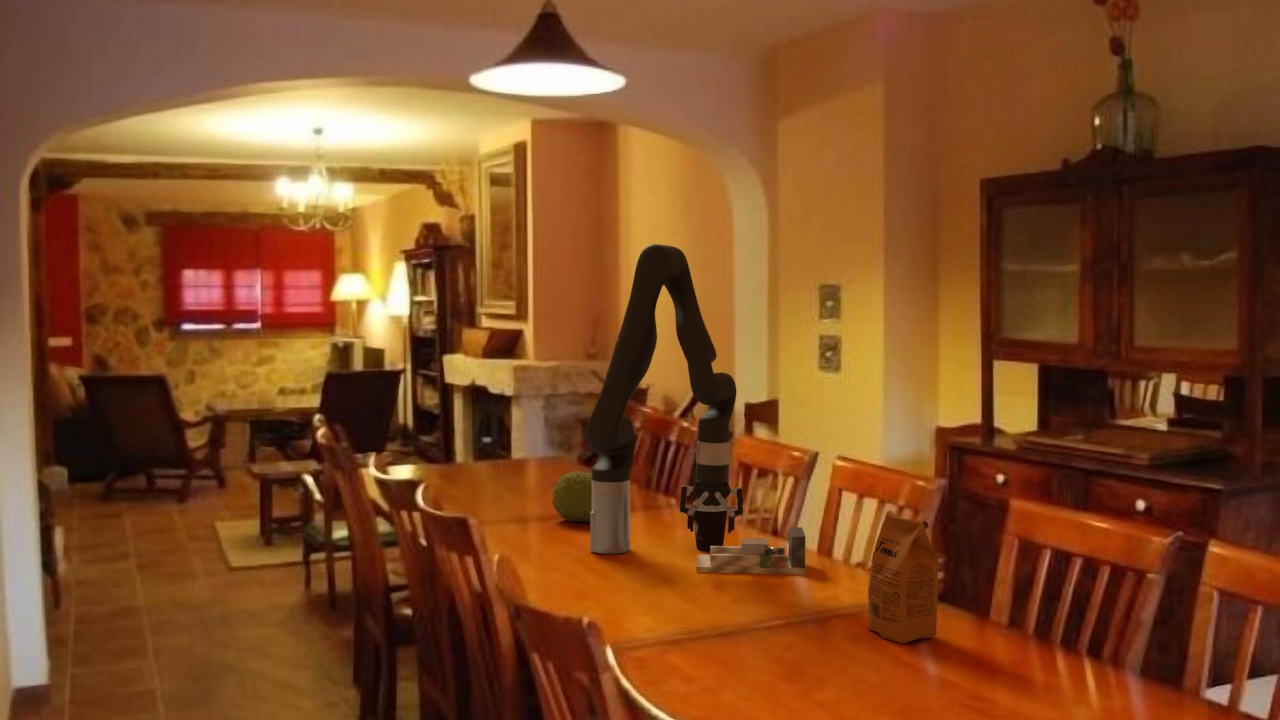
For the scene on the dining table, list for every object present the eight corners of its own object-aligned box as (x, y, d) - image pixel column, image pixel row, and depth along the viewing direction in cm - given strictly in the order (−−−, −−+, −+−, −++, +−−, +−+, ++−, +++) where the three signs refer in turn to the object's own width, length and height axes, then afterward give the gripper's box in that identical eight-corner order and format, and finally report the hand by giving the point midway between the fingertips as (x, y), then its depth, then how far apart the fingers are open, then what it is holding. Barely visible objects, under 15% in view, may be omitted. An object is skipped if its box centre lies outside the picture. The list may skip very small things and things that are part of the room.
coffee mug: (725, 553, 272) (725, 512, 271) (689, 551, 274) (689, 510, 273) (731, 543, 283) (731, 503, 283) (696, 541, 285) (696, 501, 284)
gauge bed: (696, 572, 254) (696, 535, 253) (697, 559, 266) (697, 524, 265) (805, 574, 252) (805, 537, 252) (801, 561, 264) (801, 526, 264)
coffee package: (904, 622, 216) (906, 507, 215) (944, 641, 204) (946, 519, 203) (859, 627, 212) (860, 510, 211) (897, 647, 201) (899, 523, 199)
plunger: (741, 566, 253) (742, 546, 253) (741, 557, 262) (741, 538, 262) (782, 567, 252) (782, 547, 252) (780, 557, 261) (780, 538, 261)
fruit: (605, 514, 319) (622, 470, 313) (599, 543, 307) (616, 498, 300) (550, 496, 319) (565, 452, 312) (541, 524, 306) (557, 479, 299)
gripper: (680, 462, 255) (678, 534, 256) (744, 464, 254) (742, 536, 255) (681, 457, 262) (679, 527, 263) (744, 459, 261) (741, 529, 262)
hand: (710, 531), depth 259 cm, fingers open, 8 cm apart
